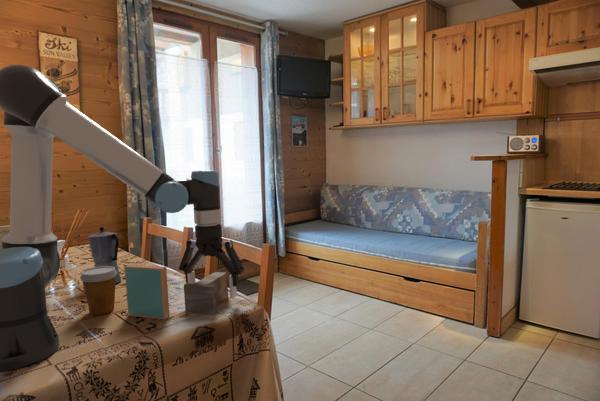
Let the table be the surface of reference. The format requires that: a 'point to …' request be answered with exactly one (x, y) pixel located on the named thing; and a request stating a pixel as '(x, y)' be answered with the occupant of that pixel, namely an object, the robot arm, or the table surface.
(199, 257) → the robot arm
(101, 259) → the moka pot
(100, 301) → the disposable coffee cup
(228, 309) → the table surface
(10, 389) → the table surface
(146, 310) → the tile
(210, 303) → the tan flared wedge
